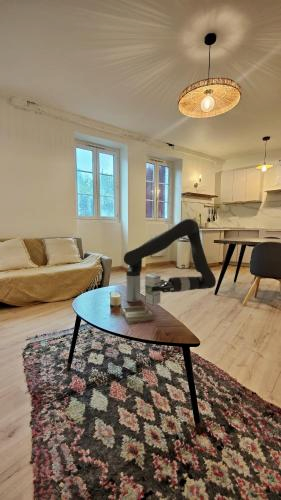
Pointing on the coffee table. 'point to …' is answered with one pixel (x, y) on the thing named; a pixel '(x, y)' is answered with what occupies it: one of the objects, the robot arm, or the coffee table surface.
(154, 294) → the syrup box
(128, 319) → the wooden tray
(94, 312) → the coffee table surface
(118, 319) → the coffee table surface
